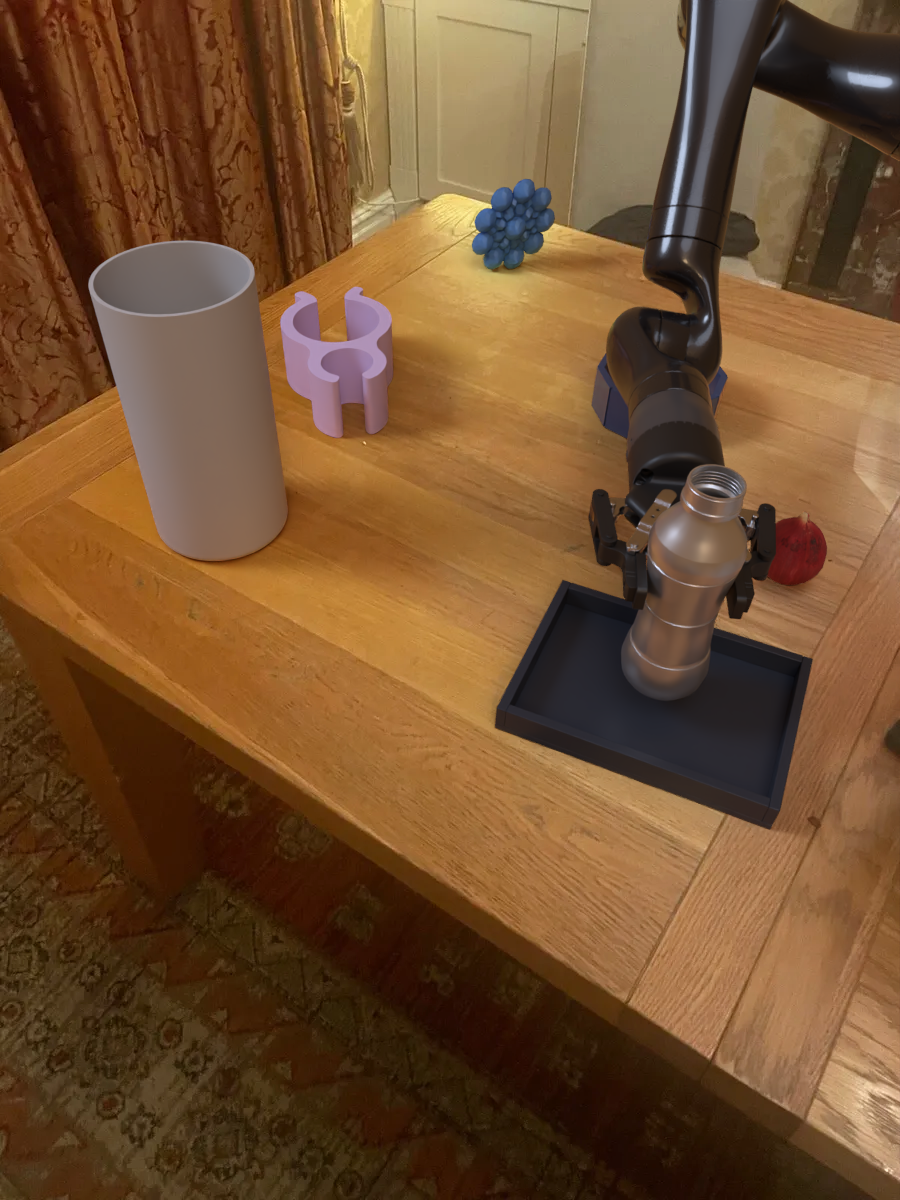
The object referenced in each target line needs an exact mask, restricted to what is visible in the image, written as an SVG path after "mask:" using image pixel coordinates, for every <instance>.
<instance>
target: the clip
mask: <svg viewBox="0 0 900 1200" xmlns="http://www.w3.org/2000/svg"><path fill="white" fill-rule="evenodd" d="M344 313H345V326H346V327H345V328H346V341H323V340H322V338H321V327H320V326H321V325H320V318H319V317H320V316H319V305H318V299H317V298H316V297H315V296H314V295H312V294H311V293H308V292H306V291H303V290H302V291H301V290H299V291H297V292H295V293H294V303H293V304H291V305H290V306H289V307H287V308H286V309H285V310H284V312H283V313H282V315H281V317H280V320H279V321H280V322H279V325H280V332H281V340H282V348H283V355H284V364H285V373H286V380H287V383H288V385H289V387H290V388H291V389H292V390H293V391H294V392H295V393H296V394H298V395H300V396H301V397H303V398H305V399H308V400H309V401H311V411H312V420H313V423H314V425H315V427H316V428H317V430H318V431H320V432H321V433H323V434H325V435H326V436H329V437H332V438H335V439H340V438H342V437H343V436H344V422H343V408H342V405H344V404H360V405H363V409H364V427H365V432H366V433H367V434H369V435H374V434H376V433H378V432H380V431H381V430H382V429H384V427H385V426H386V425H387V423H388V421H389V398H388V397H389V395H388V387H389V385H390V384H391V383H392V381H393V378H394V347H393V321H392V320H393V319H392V314H391V311H390V310H389V309H388V308H387V307H386V306H385V305H384V304H383V303H381V302H379V301H378V300H376V299H373V298H371V297H368V296H364V288H363V287H360V286H353V287H352V288H350V289H349V290H348V291H347V292H345V294H344Z"/></svg>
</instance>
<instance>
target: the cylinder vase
mask: <svg viewBox="0 0 900 1200" xmlns="http://www.w3.org/2000/svg"><path fill="white" fill-rule="evenodd" d="M88 290H89V291H88V292H89V294H90V297H91V301H92V305H93V308H94V312H95V316H96V319H97V322H98V326H99V331H100V333H101V337H102V341H103V344H104V348H105V351H106V355H107V359H108V361H109V366H110V370H111V372H112V375H113V379H114V383H115V386H116V390H117V393H118V398H119V401H120V404H121V407H122V411H123V414H124V419H125V421H126V425H127V429H128V432H129V436H130V439H131V443H132V446H133V450H134V453H135V454H134V455H135V457H136V460H137V464H138V467H139V472H140V475H141V479H142V482H143V486H144V489H145V492H146V496H147V499H148V503H149V507H150V510H151V513H152V517H153V521H154V524H155V529H156V531H157V534H158V536H159V537H160V539H161V540H162V542H163V543H164V544H165V545H166V546H167V547H168V548H170V549H171V551H174V552H175V553H176V554H179V555H181V556H183V557H186V558H189V559H193V560H197V561H205V562H223V561H224V562H225V561H231V560H235V559H239V558H243V557H246V556H249V555H251V554H254V553H256V552H258V551H261V550H262V549H263V548H266V546H268V545H269V544H271V543H272V542H273V541H274V540H275V539H276V538H277V537H278V535H280V533H281V531H282V530H283V528H284V527H285V524H286V522H287V520H288V515H289V506H288V500H287V499H288V498H287V491H286V485H285V484H286V483H285V478H284V472H283V465H282V458H281V451H280V449H281V448H280V443H279V436H278V429H277V422H276V421H277V420H276V415H275V408H274V399H273V393H272V385H271V380H270V379H271V378H270V371H269V366H268V356H267V351H266V350H267V349H266V344H265V336H264V328H263V322H262V315H261V309H260V300H259V293H258V287H257V280H256V272H255V268H254V264H253V263H252V261H251V260H250V259H249V257H247V256H246V255H245V254H244V253H242V252H240V251H238V250H237V249H235V248H232V247H229V246H227V245H223V244H219V243H214V242H209V241H200V240H171V241H161V242H154V243H148V244H144V245H140V246H136V247H133V248H130V249H127V250H125V251H122V252H119V253H117V254H115V255H113V256H112V257H109V258H107V260H105V261H104V262H102V263H101V264H99V265H98V266H97V267H96V268H95V269H94V271H93V272H92V273H91V275H90V277H89V278H88Z"/></svg>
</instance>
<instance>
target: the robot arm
mask: <svg viewBox="0 0 900 1200" xmlns="http://www.w3.org/2000/svg"><path fill="white" fill-rule="evenodd" d="M676 12H677V13H676V32H677V36H678V40H679V42H680V45H681V47H682V49H683V51H684V55H683V64H682V70H681V71H682V72H681V77H680V85H679V90H678V96H677V101H676V106H675V110H674V114H673V120H672V123H671V128H670V132H669V135H668V136H669V137H668V139H667V144H666V148H665V152H664V156H663V160H662V165H661V168H660V171H659V172H660V173H659V175H658V179H657V184H656V189H655V194H654V199H653V203H652V208H651V213H650V218H649V223H648V224H649V225H648V229H647V235H646V240H645V245H644V250H643V255H642V262H641V269H642V274H643V276H644V277H645V279H646V280H648V281H649V282H651V283H652V284H654V285H656V286H658V287H660V288H663V289H665V290H667V291H669V292H671V293H673V294H675V296H677V297H678V298H679V299H680V300H681V303H682V304H683V308H684V310H685V313H684V312H678V311H672V310H668V309H662V308H660V309H659V308H655V307H649V306H642V305H641V306H632V307H630V308H628V309H626V310H624V311H623V312H621V313H620V314H619V315H618V316H617V317H616V318H615V320H614V321H613V322H612V324H611V326H610V328H609V331H608V334H607V336H606V337H607V338H606V343H605V353H606V358H607V364H608V369H609V372H610V375H611V377H612V380H613V382H614V384H615V386H616V387H617V389H618V391H619V393H620V394H621V396H622V398H623V399H624V401H625V403H626V405H627V407H628V412H629V431H628V436H627V438H626V451H625V461H626V463H627V478H628V479H627V480H628V493H627V494H626V496H625V497H610V495H609V492H608V491H607V490H606V489H603V488H596V489H594V490H593V491H592V494H591V499H590V506H589V511H588V517H587V519H588V524H589V529H590V535H591V540H592V545H593V550H594V555H595V562H596V563H597V564H598V565H599V566H601V567H609V566H612V565H613V566H616V567H618V568H619V569H620V571H621V575H622V576H621V579H622V580H621V581H622V582H621V583H622V597H623V599H625V600H626V601H629V602H632V609H637V610H643V608H644V604H645V600H646V597H647V590H648V584H647V551H648V540H649V533H650V529H651V527H652V525H653V524H654V522H655V521H656V519H657V518H658V516H659V515H660V514H661V513H662V512H664V511H665V510H667V509H668V508H670V507H671V506H673V505H674V504H676V503H677V502H680V495H681V492H682V489H683V487H684V486H685V484H686V481H687V477H688V475H689V473H690V472H691V471H692V469H694V468H696V467H698V466H700V465H706V464H715V465H721V466H725V467H726V464H725V458H724V452H723V445H722V440H721V439H722V438H721V434H720V433H721V432H720V430H719V425H718V423H717V419H716V420H715V418H714V415H713V409H712V402H711V397H710V391H709V386H708V385H709V384H710V383H711V382H712V380H713V379H714V378H715V376H716V374H717V372H718V370H719V367H721V363H722V358H723V331H722V320H721V310H720V267H721V262H722V261H721V260H722V255H723V250H724V244H725V240H726V234H727V230H728V225H729V219H730V215H731V208H732V202H733V197H734V190H735V184H736V179H737V172H738V167H739V166H738V165H739V161H740V154H741V148H742V141H743V136H744V130H745V124H746V120H747V115H748V109H749V105H750V100H751V96H752V92H753V89H756V90H758V91H762V92H764V93H766V94H769V95H772V96H775V97H777V98H779V99H782V100H784V101H787V102H789V103H791V104H792V105H796V106H797V107H800V108H801V109H803V110H805V111H807V112H808V113H810V114H812V115H813V116H816V117H817V118H819V119H821V120H822V121H825V122H827V123H828V124H830V125H831V126H833V127H835V128H838V129H839V130H841V131H843V132H845V133H847V134H849V135H851V136H853V137H855V138H857V139H859V140H861V141H863V142H864V143H866V144H867V145H870V147H873V148H875V149H877V150H878V151H880V152H881V153H883V154H884V155H887V156H889V157H890V158H892V159H894V160H896V161H898V162H900V33H891V32H871V31H860V30H854V29H849V28H844V27H841V26H838V25H835V24H832V23H831V22H827V21H825V20H823V19H821V18H819V17H817V16H816V15H814V14H812V13H810V12H809V11H807V10H804V9H803V8H801V7H799V6H798V5H797V4H795V3H793V2H791V1H790V0H678V6H677V11H676ZM776 511H777V510H776V508H775V506H773V505H772V504H770V503H761V504H759V505H758V508H757V510H754V509H748V508H742V510H741V512H740V514H739V515H738V518H739V520H740V522H741V524H742V526H743V528H744V531H745V533H746V537H747V542H749V543H750V544H749V548H750V549H747V557H746V559H745V562H744V564H743V566H742V568H741V570H740V572H739V574H738V575H737V577H736V579H735V581H734V582H733V584H732V586H731V588H730V589H729V591H728V593H727V595H726V596H725V598H726V605H727V612H728V619H731V620H741V619H742V617H743V614H744V613H745V614H747V613H748V612H749V610H750V608H751V605H752V602H753V600H754V597H755V594H756V592H755V588H754V582H753V580H755V581H759V582H762V581H765V580H766V579H767V578H768V576H767V575H768V571H769V568H770V566H771V563H772V560H773V559H774V557H775V555H776V523H777V520H776V517H777V516H776ZM622 515H623V516H624V518H625V519H626V520H627V522H629V523H630V524H631V525H632V526H633V527H634V528H635V530H634V532H633V533H632V534H631V536H630V537H629V538H628V539H627V541H625V540H623V539H620V538H618V531H617V527H616V524H617V523H618V521H619V517H620V516H622Z"/></svg>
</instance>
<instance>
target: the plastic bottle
mask: <svg viewBox="0 0 900 1200" xmlns="http://www.w3.org/2000/svg"><path fill="white" fill-rule="evenodd" d="M747 489H748V484H747V480H746V479H745V478H744V477H743V475H742V474H740V473H739V472H738V471H736V470H735V469H733V468H731V467H728V466H726V465H725V466H721V465H715V464H706V465H700V466H698V467H696V468H694V469H692V471H691V472H690V473H689V475H688V477H687V481H686V484H685V486H684V487H683V489H682V492H681V495H680V502H677V503H676V504H674V505H673V506H671V507H670V508H668V509H667V510H665V511H664V512H662V513H661V514H660V515H659V516H658V518H657V519H656V521H655V522H654V524H653V525H652V527H651V529H650V533H649V540H648V551H647V561H646V566H647V584H648V590H647V597H646V600H645V604H644V608H643V610H638V613H637V616H636V618H635V621H634V624H633V625H632V626H631V628H630V630H629V632H628V634H627V636H626V638H625V640H624V643H623V645H622V649H621V664H622V670H623V673H624V675H625V677H626V678H627V680H628V681H629V682H630V684H631V685H632V686H633V687H634V688H635V689H636V690H637V691H639V692H640V693H642V694H643V695H645V696H647V697H650V698H653V699H656V700H663V701H671V700H677V699H681V698H684V697H687V696H689V695H691V694H692V693H693V692H695V691H696V690H697V688H698V687H699V686H700V684H701V683H702V681H703V680H704V678H705V677H706V675H707V672H708V669H709V662H710V644H711V640H712V635H713V630H714V628H715V625H716V621H717V618H718V615H719V613H720V611H721V608H722V607H723V606H722V605H723V603H724V601H725V598H726V595H727V593H728V591H729V589H730V588H731V586H732V584H733V582H734V581H735V579H736V577H737V575H738V574H739V572H740V570H741V568H742V566H743V564H744V562H745V559H746V557H747V550H748V541H747V537H746V533H745V531H744V528H743V526H742V524H741V522H740V520H739V518H738V515H739V514H740V512H741V510H742V509H743V508H744V507H743V506H744V499H745V496H746V493H747Z"/></svg>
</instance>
